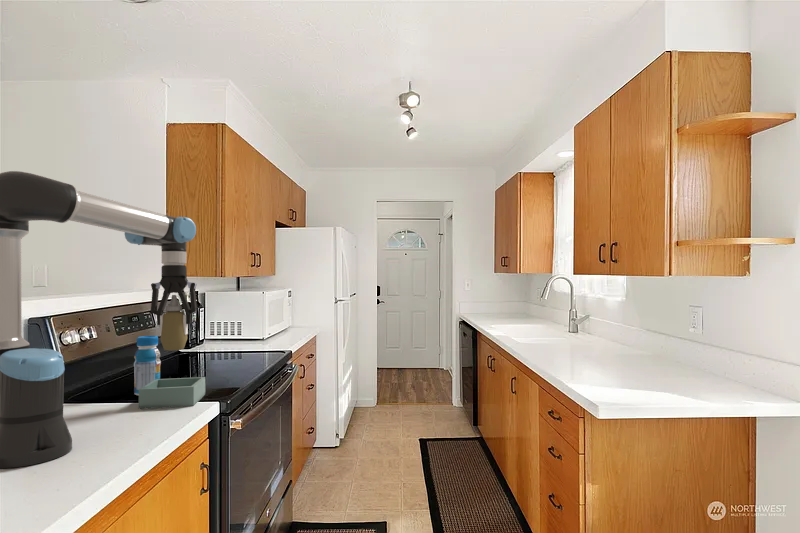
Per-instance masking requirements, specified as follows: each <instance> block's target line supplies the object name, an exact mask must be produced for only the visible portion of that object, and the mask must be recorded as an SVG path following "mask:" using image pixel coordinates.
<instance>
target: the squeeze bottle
mask: <svg viewBox="0 0 800 533" xmlns="http://www.w3.org/2000/svg"><path fill="white" fill-rule="evenodd" d="M165 309H166V312H165V313H164V312H163V323H162V332H161V336H160V343H161V345H162V347H163V350H164V351H167V352H168V351H169V352H170V351H172V352H173V351H181V350H184V349H185V346H186V343H187V341H188V334H186V335H185V334H184V325H183V315H185V312H183V305H180V304H179V301H178V298H177V295H176V294H172V295H171V298H170V303H169V305H167V306H165Z"/></svg>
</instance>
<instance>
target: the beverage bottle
mask: <svg viewBox="0 0 800 533" xmlns="http://www.w3.org/2000/svg"><path fill="white" fill-rule="evenodd" d="M158 345H159V336H158V335H143V336H138V337H136V346H137V347H138V348H137V350H136V351H135V354H134V356H133V358H134V362H133V367H134V368H133V369H134V370H133V371H134V375H133V376H134V379H133V380H134V383H133V384H134V385H133V386H134V388H133V393H134V394H133V395H136V396H139V389H140V388H142V387H144V386H145V385H147V384H149V383H151V382H152V381H154V380H156V379H161V364H162V361H161V359H160V357H161V352H160V350H159V349H158V348H157V346H158Z"/></svg>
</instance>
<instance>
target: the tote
mask: <svg viewBox="0 0 800 533" xmlns="http://www.w3.org/2000/svg"><path fill="white" fill-rule="evenodd" d="M205 395H206V377H205V376H201V377H200V376H197V377H181V378H180V377H177V378H160V379H156V380H154V381H152V382H151V383H149V384H147V385H145V386H144V387H142V388H140V389H139V395H138V409H139V408H148V409H160V408H162V407H166V408H181V406H183V407H194V406H196V404H198V403H199V401H200V400H202V398H203V397H205ZM162 409H163V408H162Z"/></svg>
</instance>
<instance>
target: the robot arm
mask: <svg viewBox="0 0 800 533" xmlns="http://www.w3.org/2000/svg"><path fill="white" fill-rule="evenodd" d="M29 221H31V222H32V221H47V222H49V221H50V222H54V223H55V222H56V223H60V224H65V223H67V222H68V221H70V222H71V221H72V222H76V223H80V224H85V225H91V226H94V227H98V228H103V229H108V230H114V231H118V232H122V233H124V238H125V239H126V241H127V242H128V243H130V244H134V245H138V246H140V245H141V246H142V245H144V246H158V247H161V248H160V249H161V264H163V265H162V266H161V279H160V281H159V282H153V283H151V284H150V286H151V291H152V292H151V303H150V313H151V314H153V315H155V316H156V325H157V326H159V336H160V337H161V332H162V323H163V314H164V311H165V309H166V305H167V302H168V300H169V297H170V295H171V294H173V293H175V294H178V296H179V299H180V302H181V303H182V304H181V306H182V308H183V310H184V313H185V315H183V325H184V334H185V335H186V334H187V335H189V330H188V329H189V325H190V324H191V323H192V317H191V316H192V314H195V313H197V311H198V307H197V306H198V305H197V296H196V290H197V288H196V287H197V283H196V282H193V281H192V282H191V281H189V280H188V278H187V273H188V272H187V271H188V268H187V265H185V264H187V258H188V256H187V247H188V245H187V244H188V243H187V242H191V241H192V240H193V239H194V238H195V236H196V234H197V226H196V223H195V222H194V221H193V220H192V219H191V218H189V217H186V216H176V217H175V216H171V215H168V214H167V215H166V214H162V213H159V212H156V211H151V210H148V209H145V208H141V207H138V206H134V205H130V204H127V203H123V202H120V201H116V200H113V199H112V200H111V199H109V198H108V199H107V198H104V197H102V196H97V195H94V194H90V193H87V192H82V191H79V190H77V189H76V186H75V185H73V184H70V183H66V182H63V181H59V180H57V179H53V178H49V177H46V176H42V175H38V174H34V173H30V172H24V171H18V170H11V171H4V172H0V469H10V468H11V469H12V468H20V467H27V466H32V465H36V464H37V465H38V464H40V463H45V462H49V461H53V460H55V459H58V458H60V457H63V456H65V455H67V454H68V453H70V452H71V451H72V450H73V438H72V435H71V433H70V430H69V428H68V425H67V422H66V420H65V417H64V396H65V395H64V389H65V388H64V387H65V386H64V385H65V384H64V383H65V380H64V379H65V370H66V368H65V363H64V362H65V361H64V356H63V354H62V353H61V352H59V351H58V350H55V349H50V348H38V347H35V348H34V347H33V348H30V347H31V346H30V344H31V343H30V342H29V341H28V340H26V339H25V338H23V335H22V333H23V331H22V330H23V329H22V326H23V325H22V323H23V322H22V239H23V238H24V237H26V236H27V235H28V234H29V224H30V222H29ZM161 287H162V288H163V292H162V297H161V300H160V303H159V295H160V294H159V293H160V290H159V289H161ZM186 287H188V289H189V300H190V305H189V302H188V300H187V296H186V292H185V288H186ZM158 303H159V304H158Z"/></svg>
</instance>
